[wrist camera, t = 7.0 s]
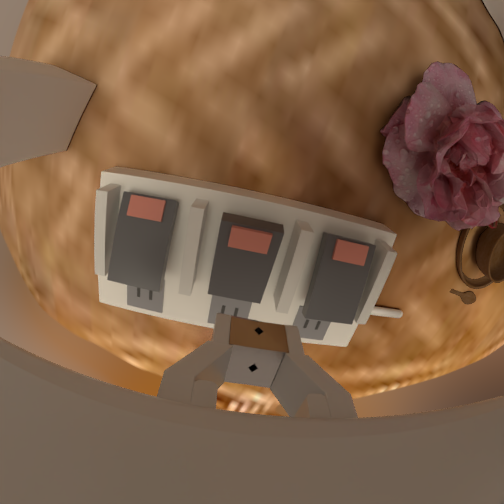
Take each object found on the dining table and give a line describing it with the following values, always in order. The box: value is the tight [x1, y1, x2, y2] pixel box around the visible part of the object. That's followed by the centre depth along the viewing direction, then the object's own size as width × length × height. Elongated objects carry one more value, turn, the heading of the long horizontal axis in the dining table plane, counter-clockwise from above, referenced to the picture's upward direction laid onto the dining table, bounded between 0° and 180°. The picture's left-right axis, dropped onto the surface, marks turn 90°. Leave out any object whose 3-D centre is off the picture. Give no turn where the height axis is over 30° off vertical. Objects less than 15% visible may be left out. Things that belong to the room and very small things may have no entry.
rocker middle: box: [208, 212, 284, 304], centre depth 22 cm, size 4×7×2 cm, turn 167°
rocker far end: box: [107, 191, 179, 292], centre depth 21 cm, size 4×7×2 cm, turn 167°
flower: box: [380, 62, 504, 231], centre depth 19 cm, size 15×15×10 cm
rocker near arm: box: [302, 232, 376, 325], centre depth 23 cm, size 4×7×2 cm, turn 167°
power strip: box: [94, 166, 403, 347], centre depth 25 cm, size 33×13×6 cm, turn 77°
